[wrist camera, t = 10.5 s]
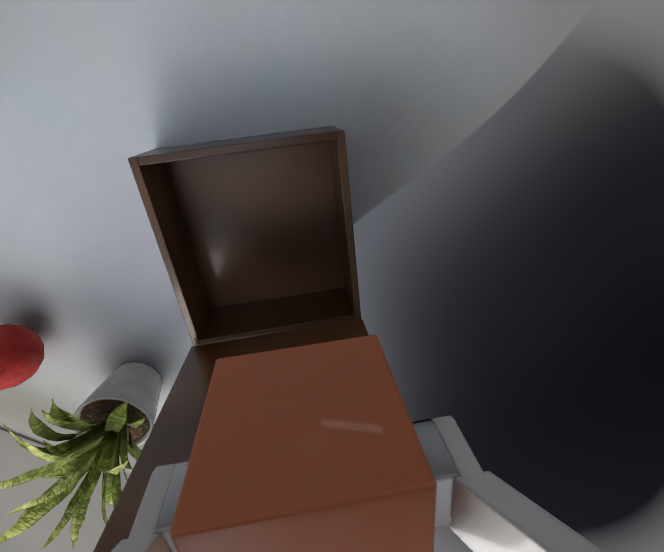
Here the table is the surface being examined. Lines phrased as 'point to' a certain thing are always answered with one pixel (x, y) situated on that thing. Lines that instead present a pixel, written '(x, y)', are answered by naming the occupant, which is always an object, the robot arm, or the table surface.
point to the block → (306, 457)
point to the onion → (18, 354)
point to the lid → (199, 412)
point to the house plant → (90, 447)
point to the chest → (254, 231)
